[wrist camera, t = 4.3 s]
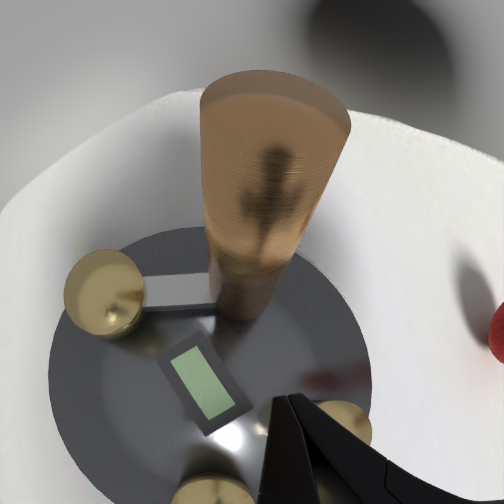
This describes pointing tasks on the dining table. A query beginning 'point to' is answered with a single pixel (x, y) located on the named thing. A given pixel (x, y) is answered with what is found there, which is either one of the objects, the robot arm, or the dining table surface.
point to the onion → (497, 334)
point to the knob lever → (230, 205)
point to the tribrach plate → (146, 404)
